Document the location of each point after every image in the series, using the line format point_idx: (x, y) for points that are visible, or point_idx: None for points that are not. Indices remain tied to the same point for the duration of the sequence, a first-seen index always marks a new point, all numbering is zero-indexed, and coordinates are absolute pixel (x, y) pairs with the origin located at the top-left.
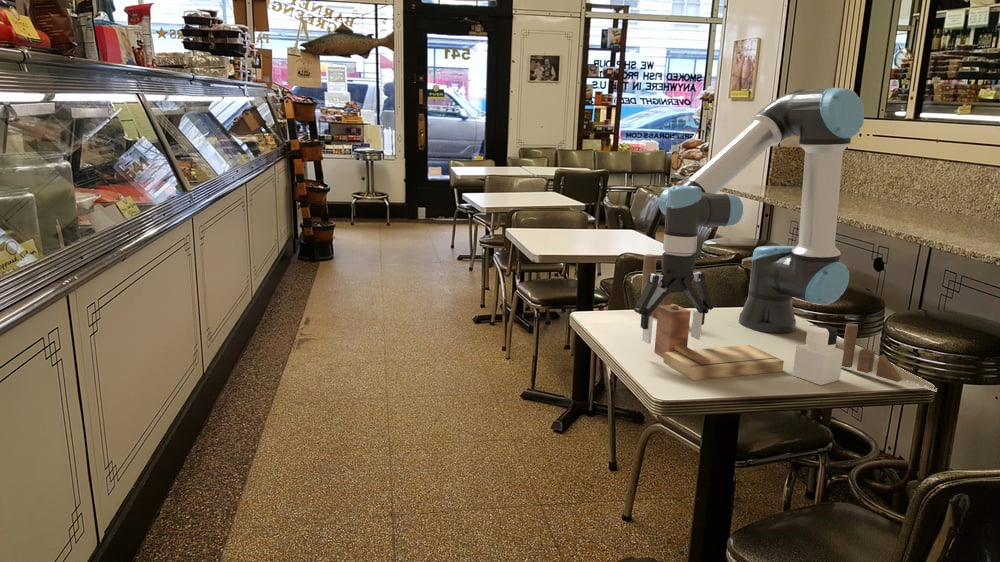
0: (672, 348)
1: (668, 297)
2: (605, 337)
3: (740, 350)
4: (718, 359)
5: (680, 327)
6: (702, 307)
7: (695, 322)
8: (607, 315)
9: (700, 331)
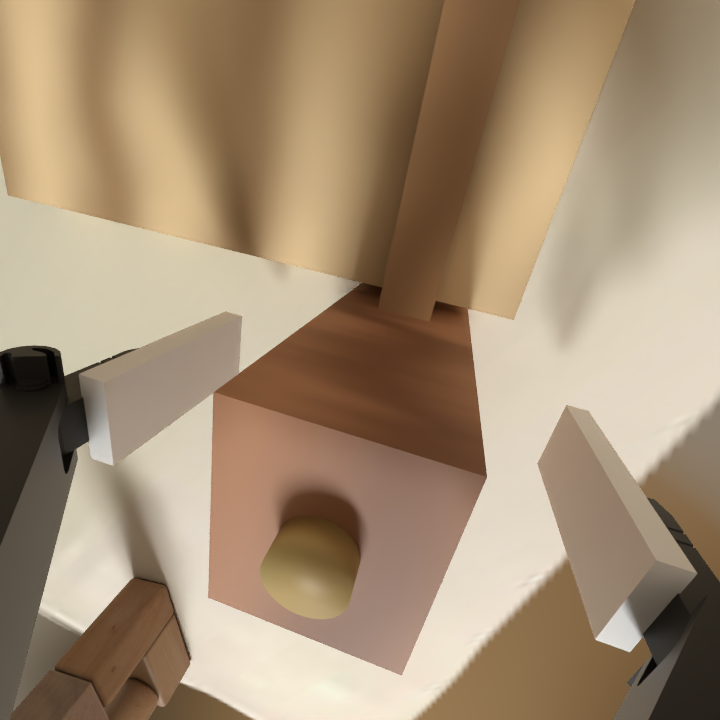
0: (444, 319)
1: (71, 679)
2: (456, 622)
3: (88, 138)
4: (307, 42)
5: (378, 352)
6: (22, 407)
7: (177, 387)
8: (280, 705)
9: (196, 326)
